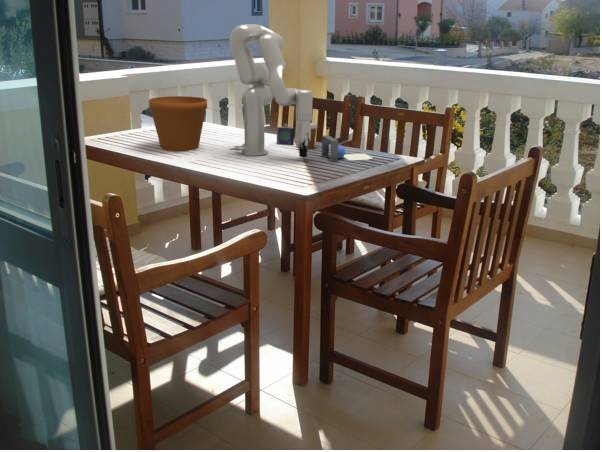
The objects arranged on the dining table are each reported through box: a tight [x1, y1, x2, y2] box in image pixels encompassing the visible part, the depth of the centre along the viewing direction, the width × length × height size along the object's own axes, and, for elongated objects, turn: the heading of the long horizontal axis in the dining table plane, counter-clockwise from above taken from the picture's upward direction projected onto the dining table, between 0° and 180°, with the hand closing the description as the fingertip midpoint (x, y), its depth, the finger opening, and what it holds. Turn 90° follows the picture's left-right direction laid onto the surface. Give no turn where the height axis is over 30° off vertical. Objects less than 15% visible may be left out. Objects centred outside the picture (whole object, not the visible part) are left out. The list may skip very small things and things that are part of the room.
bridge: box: [320, 134, 339, 163], centre depth 326 cm, size 3×15×10 cm, turn 17°
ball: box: [338, 145, 346, 159], centre depth 327 cm, size 6×6×6 cm
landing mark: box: [342, 153, 373, 162], centre depth 331 cm, size 13×13×1 cm
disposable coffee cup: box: [307, 122, 318, 149], centre depth 350 cm, size 10×10×12 cm
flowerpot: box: [148, 95, 208, 152], centre depth 342 cm, size 28×28×24 cm
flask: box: [276, 123, 295, 146], centre depth 357 cm, size 9×3×11 cm, turn 71°
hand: (303, 156), depth 323 cm, fingers closed
